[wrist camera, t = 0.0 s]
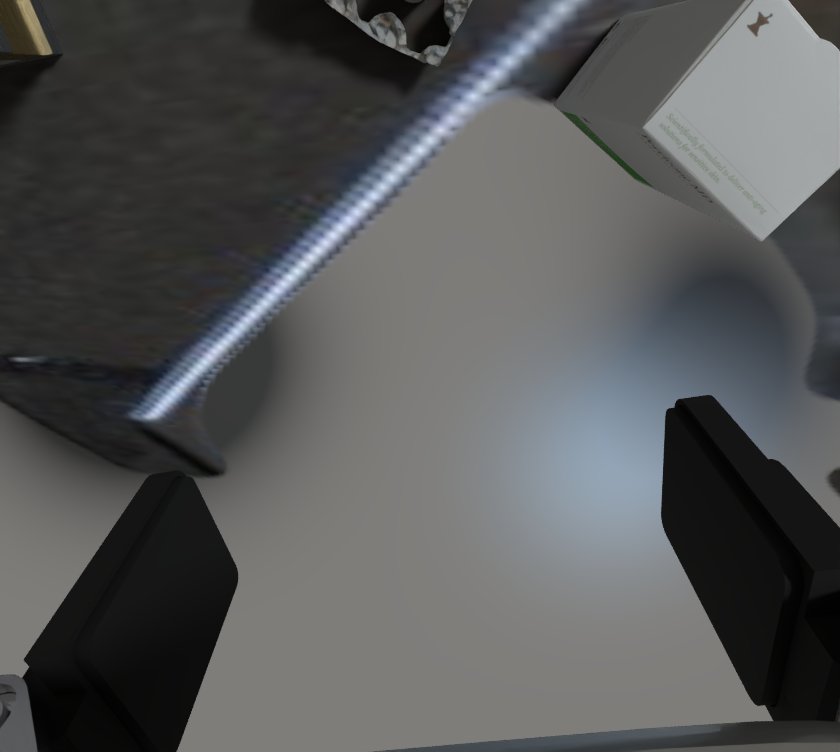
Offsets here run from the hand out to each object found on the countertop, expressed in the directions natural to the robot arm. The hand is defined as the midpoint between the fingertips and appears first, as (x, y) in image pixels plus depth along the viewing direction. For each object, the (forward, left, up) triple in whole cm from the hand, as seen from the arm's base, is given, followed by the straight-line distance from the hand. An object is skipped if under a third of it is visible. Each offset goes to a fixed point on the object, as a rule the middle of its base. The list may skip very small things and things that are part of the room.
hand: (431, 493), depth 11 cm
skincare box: (-3, +14, -31) cm, 35 cm away
